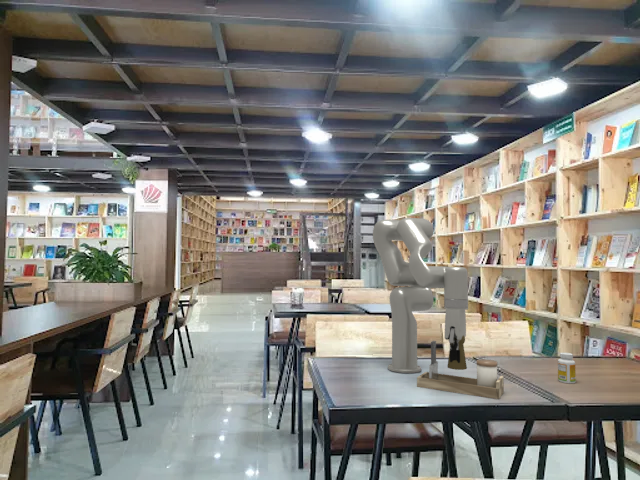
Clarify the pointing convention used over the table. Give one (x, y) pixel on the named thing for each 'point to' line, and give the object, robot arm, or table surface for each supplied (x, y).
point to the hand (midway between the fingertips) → (456, 360)
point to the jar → (486, 373)
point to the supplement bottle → (566, 368)
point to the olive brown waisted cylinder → (462, 364)
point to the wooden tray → (461, 385)
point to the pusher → (433, 363)
